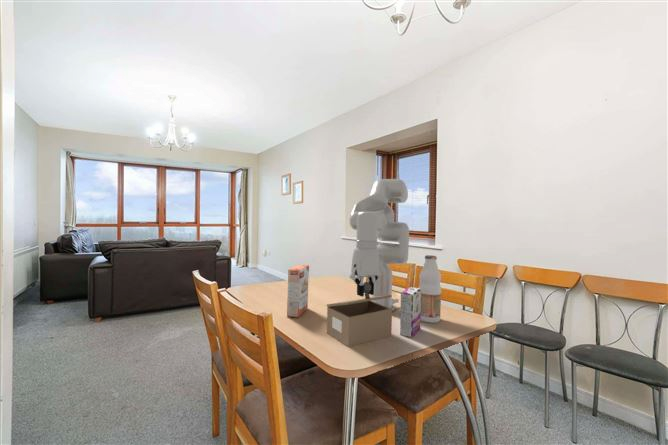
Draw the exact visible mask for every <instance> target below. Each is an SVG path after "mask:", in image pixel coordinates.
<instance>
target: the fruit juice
mask: <svg viewBox="0 0 668 445" xmlns="http://www.w3.org/2000/svg"><path fill="white" fill-rule="evenodd" d="M437 259H438V257H437V255H432V254H431V255H429V254H427V255H425V256H424V260H425V261H424V264H423V265H422V269H420V271H419V276H418V277H419V284H418V288H420V289H421V321H420V322H424V323H431V324H433V323H434V324H436V323H439V322H440V320H441V310H442V309H441V308H442V307H441V306H442V287H441V279H442V274H441V272H440V270H439V268H438V264H437Z"/></svg>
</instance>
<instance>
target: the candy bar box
mask: <svg viewBox="0 0 668 445" xmlns="http://www.w3.org/2000/svg"><path fill="white" fill-rule="evenodd" d="M421 322H422V321H421V289H420V288H419V287H413V286H410V287H407V289H404V290H403V291H401V292H400V323H399V325H400V327H399V328H400V331H399V332H400V336H403V337H408V338H413V337H414V336H415V335H416V334H417V333H418V332H419V331H420V330H421Z"/></svg>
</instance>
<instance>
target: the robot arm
mask: <svg viewBox="0 0 668 445" xmlns="http://www.w3.org/2000/svg"><path fill="white" fill-rule="evenodd" d="M408 197H409V191H408V187H407V185H406V183H405V181H404V180H402V179H401V178H400V179H399V178H380V179H378V180H376V181H375V182H373V184H372V188H371V190H370V193H369V196H366V197H364V198H363V199H361V200H359V201H358V202H357V203H356V204H354V206H353V209H352V210H351V212H350V216H349V226H350V227H351V228H352V229H353V230H355V231H356V244H355V245H356V248H354V250H353V254H352V259H351V260H352V261H351V273H350V275H349V278H350V279H351V280H352V281H353V282H354V283H355V284H356V294H357V296H359V297H363V298H364V297H365V293H364V286H363V283H364V279H365V278H367V279H368V281H367V282H368V283H369V284H370V285H371V291H370V292H369V295H371V297H378V296H386V295H392V297H389V298H383V299H378V300H372V301H373V302H375V303H378V304H380V305H383V306H385V307H388V308H390V309H392V312H394V311H395V310H396V309H395V307H396V306H395V305H394V304H398V303H399V302H400V300H399V299H398V298H394V299H393V270H392V269H391V268H390V266H389V265H405V264H406V263H407V262H408V260H409V248H410V246H409V245H410V228H409V225H408V224H407V223H406V222H400V221H398V222H397V221H395V211H394V210H393V208H392V207H391V206H390V205H389V204H403V203H406V201H407V200H408ZM378 241H380V243H379V242H378ZM381 242H383V243H381ZM384 242H395V243H384ZM396 243H397V244H396Z"/></svg>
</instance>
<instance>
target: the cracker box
mask: <svg viewBox="0 0 668 445" xmlns="http://www.w3.org/2000/svg"><path fill="white" fill-rule="evenodd" d="M287 271H288V272H287V273H288V274H287V302H286V306H287V307H286V317H289V318H290V317H291V318H292V317H293V318H300V316H301V315H303V314H304V313H305V312H306V310H308V307H309V306H308V304H309V303H308V302H309V278H310V277H309V276H310V265H308V264H297V265H295V266H293V267H291V268H289V269H288V270H287Z"/></svg>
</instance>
